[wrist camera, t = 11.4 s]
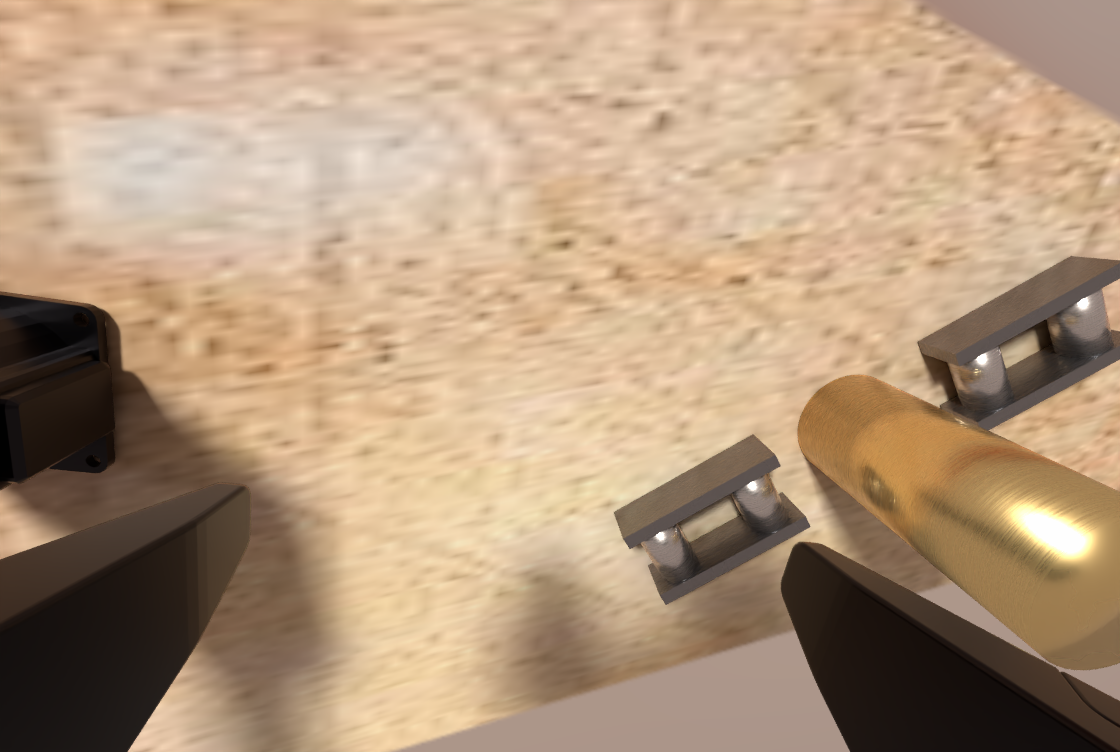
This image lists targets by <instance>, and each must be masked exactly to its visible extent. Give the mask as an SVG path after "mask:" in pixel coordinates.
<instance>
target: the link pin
mask: <svg viewBox="0 0 1120 752" xmlns="http://www.w3.org/2000/svg"><path fill="white" fill-rule="evenodd" d="M798 441H799V445H800V448H801V450H802V452H803V454H804V455H805V457H806V458H807V459H808V460H809V461H810V462H811V463H812V464H814V465H815V466H816V467H817V468H818V469H819V470H821V471H822V472H823V473H824V474H825V475H827V476H828V477H829V478H830V479H831V480H833V481H834V482H835V483H836V484H837V485H839V486H840V487H841V488H842V489H843V490H844V491H846V492H847V493H848V494H849V495H850V496H852V497H853V498H854V499H855V500H856V501H858V502H859V503H860V504H861V505H862V506H864V507H865V508H866V509H867V510H868V511H869V512H871V513H872V514H873V515H874V516H875V517H877V518H878V519H879V520H880V521H881V522H883V523H884V524H885V525H886V526H887V527H889V528H890V529H891V530H892V531H893V532H894V533H896V534H897V535H898V536H899V537H900V538H902V539H903V540H904V541H905V542H906V543H908V544H909V545H910V546H911V547H912V548H914V549H915V550H916V551H917V552H918V553H919V554H921V555H922V556H923V557H924V558H925V559H927V560H928V561H929V562H930V563H931V564H933V565H934V566H935V567H936V568H937V569H939V570H940V571H941V572H942V573H943V574H944V575H946V576H947V577H948V578H949V579H950V580H952V581H953V582H954V583H955V584H956V585H958V586H959V587H960V588H961V589H962V590H964V591H965V592H966V593H967V594H968V595H970V596H971V597H972V598H973V599H974V600H975V601H977V602H978V603H979V604H980V605H981V606H983V607H984V608H985V609H986V610H988V611H989V612H990V613H991V614H992V615H993V616H994V617H996V618H997V619H998V620H999V621H1000V622H1002V623H1003V624H1004V625H1005V626H1006V627H1008V628H1009V629H1010V630H1011V631H1012V632H1014V633H1015V634H1016V635H1017V636H1018V637H1020V638H1021V639H1022V640H1023V641H1024V642H1025V643H1027V644H1028V645H1029V646H1030V647H1031V648H1033V649H1034V650H1035V651H1036V652H1037V653H1039V654H1040V655H1041V656H1042V657H1043V658H1045V659H1046V660H1047V661H1049V662H1050V663H1052V664H1055V665H1056V666H1059V667H1062V668H1066V669H1072V670H1092V669H1099V668H1104V667H1108V666H1112V665H1115V664H1118V663H1120V492H1119V491H1117V490H1115V489H1113V488H1110V487H1108V486H1106V485H1104V484H1102V483H1100V482H1097V481H1095V480H1093V479H1091V478H1089V477H1087V476H1085V475H1082V474H1080V473H1078V472H1076V471H1074V470H1072V469H1070V468H1067V467H1065V466H1063V465H1061V464H1059V463H1057V462H1055V461H1052V460H1050V459H1048V458H1046V457H1044V456H1042V455H1039V454H1037V453H1035V452H1033V451H1031V450H1029V449H1027V448H1024V447H1022V446H1020V445H1018V444H1016V443H1014V442H1012V441H1009V440H1007V439H1005V438H1003V437H1001V436H999V435H996V434H994V433H992V432H990V431H988V430H986V429H984V428H981V427H979V426H977V425H975V424H973V423H971V422H969V421H966V420H964V419H962V418H960V417H958V416H956V415H954V414H951V413H949V412H947V411H945V410H943V409H941V408H938V407H936V406H934V405H932V404H930V403H928V402H926V401H923V400H921V399H919V398H917V397H915V396H913V395H911V394H908V393H906V392H904V391H902V390H900V389H898V388H896V387H893V386H891V385H889V384H887V383H885V382H883V381H880V380H878V379H876V378H874V377H871V376H866V375H850V376H845V377H841V378H838V379H836V380H834V381H832V382H830V383H828V384H827V385H825V386H824V387H822V388H821V389H820V390H819V391H818V392H816V393H815V394H814V396H813V397H812V398H811V399H810V400H809V402H808V403H807V405H806V406H805V408H804V410H803V412H802V414H801V417H800V421H799V425H798Z"/></svg>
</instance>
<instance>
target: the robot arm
mask: <svg viewBox="0 0 1120 752" xmlns="http://www.w3.org/2000/svg"><path fill="white" fill-rule="evenodd" d="M82 313H83V314H85V315H86V316H87V317H88V319H89V324H87V323H85V322H84V321H83V319H82ZM114 428H115V422H114V408H113V393H112V379H111V369H110V367H109V365H108V354H107V340H106V326H105V318H104V314H103V313H102V312H101V310H100V309H99V308H97V307H96V306H94V305H91V304H86V303H79V302H72V301H65V300H57V299H50V298H43V297H36V296H29V295H22V294H14V293H7V292H0V490H2V489H3V488H5V487H7V486H9V485H11V484H12V483H18V484H20V483H23V482H25V481H27V480H29V479H30V478H32V477H34V476H36V475H37V474H39V473H41V472H43V471H44V470H46V469H58V470H68V471H79V472H89V473H100V472H102V471H104V470H106V469H107V468H109V467H110V466H112V464H113V463H114V460H115V452H114V438H113V430H114ZM93 455H94V456H97V457H98V458H99V459H100V462H98V461H96V460H95V459H94V456H93ZM250 531H251V493H250V490H249V488H248V487H247V486H246V485H241V484H231V483H216V484H213V485H210V486H207V487H205V488H202V489H199V490H196V491H193V492H190V493H188V494H185V495H182V496H179V497H176V498H173V499H171V500H168V501H165V502H162V503H159V504H156V505H154V506H151V507H148V508H145V509H142V510H139V511H137V512H134V513H131V514H128V515H125V516H122V517H120V518H117V519H114V520H111V521H108V522H105V523H103V524H100V525H97V526H94V527H91V528H88V529H85V530H83V531H80V532H77V533H74V534H71V535H68V536H66V537H63V538H60V539H57V540H54V541H51V542H49V543H46V544H43V545H40V546H37V547H34V548H32V549H29V550H26V551H23V552H20V553H17V554H15V555H12V556H9V557H6V558H3V559H0V752H128V750H129V749H130V747H131V745H132V744H133V742H134V741H135V739H136V738H137V736H138V735H139V733H140V732H141V730H142V729H143V727H144V726H145V724H146V722H147V721H148V719H149V718H150V716H151V715H152V713H153V712H154V710H155V709H156V707H157V706H158V704H159V703H160V701H161V699H162V698H163V696H164V695H165V693H166V692H167V690H168V689H169V687H170V686H171V684H172V683H173V681H174V679H175V678H176V676H177V675H178V673H179V672H180V670H181V669H182V667H183V666H184V664H185V663H186V661H187V660H188V658H189V656H190V655H191V653H192V652H193V650H194V648H195V647H196V645H197V643H198V642H199V640H200V638H201V637H202V635H203V633H204V631H205V629H206V627H207V625H208V624H209V622H210V620H211V618H212V616H213V614H214V612H215V610H216V608H217V606H218V604H219V602H220V600H221V598H222V596H223V594H224V592H225V590H226V588H227V586H228V584H229V582H230V580H231V578H232V576H233V574H234V572H235V570H236V568H237V566H238V564H239V562H240V561H241V559H242V557H243V555H244V553H245V551H246V548H247V546H248V543H249V539H250ZM781 593H782V597H783V600H784V602H785V605H786V607H787V610H788V613H789V615H790V618H791V620H792V623H793V625H794V628H795V631H796V633H797V636H798V638H799V641H800V644H801V646H802V649H803V651H804V654H805V656H806V659H807V662H808V664H809V667H810V669H811V671H812V674H813V676H814V679H815V681H816V683H817V685H818V687H819V689H820V692H821V694H822V696H823V698H824V700H825V702H826V704H827V706H828V708H829V710H830V712H831V714H832V716H833V718H834V720H835V722H836V724H837V726H838V728H839V730H840V732H841V734H842V736H843V738H844V740H845V742H846V744H847V746H848V748H849V750H850V752H1120V701H1119V700H1117V699H1114V698H1113V697H1111V696H1109V695H1107V694H1105V693H1103V692H1101V691H1099V690H1097V689H1095V688H1094V687H1092V686H1090V685H1088V684H1086V683H1084V682H1082V681H1080V680H1078V679H1077V678H1074V677H1073V676H1071V675H1069V674H1067V673H1065V672H1059V670H1058V669H1057V668H1056V667H1053V666H1052V665H1050V664H1048V663H1046V662H1044V661H1042V660H1040V659H1039V658H1037V657H1035V656H1033V655H1031V654H1029V653H1027V652H1025V651H1023V650H1022V649H1020V648H1018V647H1016V646H1014V645H1012V644H1010V643H1008V642H1006V641H1004V640H1003V639H1001V638H999V637H997V636H995V635H993V634H991V633H989V632H987V631H986V630H984V629H982V628H980V627H978V626H976V625H974V624H972V623H970V622H969V621H967V620H965V619H963V618H961V617H959V616H957V615H955V614H953V613H951V612H950V611H948V610H946V609H944V608H942V607H940V606H938V605H936V604H934V603H933V602H931V601H929V600H927V599H925V598H923V597H921V596H919V595H917V594H915V593H914V592H912V591H910V590H908V589H906V588H904V587H902V586H900V585H898V584H897V583H895V582H893V581H891V580H889V579H887V578H885V577H883V576H881V575H879V574H878V573H876V572H874V571H872V570H870V569H868V568H866V567H864V566H862V565H861V564H859V563H857V562H855V561H853V560H851V559H849V558H847V557H845V556H843V555H842V554H840V553H838V552H836V551H834V550H832V549H830V548H828V547H826V546H824V545H822V544H819V543H811V542H798V543H796V544H795V545H794V547H793V548H792V551H791V554H790V557H789V560H788V562H787V565H786V568H785V571H784V574H783V577H782V580H781Z"/></svg>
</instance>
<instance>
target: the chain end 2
mask: <svg viewBox="0 0 1120 752" xmlns="http://www.w3.org/2000/svg"><path fill="white" fill-rule="evenodd" d="M1119 278H1120V261H1119V260H1108V259H1097V258H1085V257H1074V256H1071V257H1069V258H1067V259H1065V260H1063V261H1062V262H1060V263H1058V264H1056V265H1054V266H1053V267H1051V268H1049V269H1047V270H1045V271H1044V272H1042V273H1040V274H1038V275H1037V276H1035V277H1033V278H1031V279H1029V280H1028V281H1026V282H1024V283H1022V284H1020V285H1019V286H1017V287H1015V288H1013V289H1011V290H1010V291H1008V292H1006V293H1004V294H1003V295H1001V296H999V297H997V298H995V299H994V300H992V301H990V302H988V303H986V304H985V305H983V306H981V307H979V308H977V309H976V310H974V311H972V312H970V313H969V314H967V315H965V316H963V317H961V318H960V319H958V320H956V321H954V322H952V323H951V324H949V325H947V326H945V327H943V328H942V329H940V330H938V331H936V332H935V333H933V334H931V335H929V336H927V337H926V338H924V339H922V340H920V341H918V344H919V346H920V349H921V352H922V354H925V355H928V356H931V357H933V358H936V359H939V360H942V361H945V362H947V364H948V367H949V370H950V373H951V376H952V379H953V382H954V384H955V387H956V390H957V393H958V396H956V397H954V398H953V399H951V400H949V401H947V402H945V403H943V404H942V405H940V406H941V409H943V410H945V411H947V412H949V413H951V414H954V415H956V416H958V417H960V418H962V419H964V420H966V421H969V422H971V423H973V424H975V425H977V426H979V427H981V428H984V429H986V430H990V429H992V428H994V427H995V426H997V425H999V424H1001V423H1003V422H1005V421H1006V420H1008V419H1010V418H1012V417H1014V416H1016V415H1018V414H1019V413H1021V412H1023V411H1025V410H1027V409H1029V408H1031V407H1032V406H1034V405H1036V404H1038V403H1040V402H1042V401H1044V400H1045V399H1047V398H1049V397H1051V396H1053V395H1055V394H1056V393H1058V392H1060V391H1062V390H1064V389H1066V388H1068V387H1069V386H1071V385H1073V384H1075V383H1077V382H1079V381H1081V380H1082V379H1084V378H1086V377H1088V376H1090V375H1092V374H1094V373H1095V372H1097V371H1099V370H1101V369H1103V368H1105V367H1107V366H1108V365H1110V364H1112V363H1114V362H1116V361H1118V360H1119V359H1120V331H1115V330H1111V329H1110V324H1109V320H1108V315H1107V310H1106V306H1105V301H1104V297H1103V292H1102V288H1103V287H1105V286H1107V285H1109V284H1110V283H1112V282H1114V281H1116V280H1118V279H1119ZM1045 319H1046V321H1047V325H1048V329H1049V333H1050V337H1051V341H1052V344H1051V345H1049V346H1048V347H1046V348H1044V349H1042V350H1040V351H1038V352H1037V353H1035V354H1033V355H1031V356H1029V357H1027V358H1026V359H1024V360H1022V361H1020V362H1018V363H1017V364H1015V365H1013V366H1011V367H1009V368H1007V369H1006V368H1005V364H1004V361H1003V358H1002V354H1001V351H1000V347H999V345H1000V344H1002V343H1003V342H1005V341H1007V340H1009V339H1011V338H1012V337H1014V336H1016V335H1018V334H1020V333H1022V332H1023V331H1025V330H1027V329H1029V328H1031V327H1032V326H1034V325H1036V324H1038V323H1040V322H1041V321H1043V320H1045Z"/></svg>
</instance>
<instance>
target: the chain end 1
mask: <svg viewBox="0 0 1120 752" xmlns="http://www.w3.org/2000/svg"><path fill="white" fill-rule="evenodd" d="M778 467H780V464H779V462H778V459H777V457H776V455H775V454H774V453H773V452H772V451H771V450H770V449H768V448H767V447H766V446H765V445H764V444H763V443H762V442H761V441H760V440H759V439H758V438H757V437H755V436H754V435H751V436H750V437H748V438H746V439H744V440H742V441H741V442H739V443H737V444H735V445H733V446H732V447H730V448H728V449H726V450H724V451H723V452H721V453H719V454H717V455H715V456H714V457H712V458H710V459H708V460H707V461H705V462H703V463H701V464H699V465H698V466H696V467H694V468H692V469H690V470H689V471H687V472H685V473H683V474H681V475H680V476H678V477H676V478H674V479H673V480H671V481H669V482H667V483H665V484H664V485H662V486H660V487H658V488H656V489H655V490H653V491H651V492H649V493H647V494H646V495H644V496H642V497H640V498H639V499H637V500H635V501H633V502H631V503H630V504H628V505H626V506H624V507H622V508H621V509H619V510H617V511H615V512H614V514H615V517H616V520H617V523H618V526H619V528H620V531H621V534H622V537H623V539H624V541H625V542H626V544H627V545H628V547H629V549H631V548H633V547H635V546H637V545H638V544H640V543H641V544H642V546H643V548H644V549H645V551H646V552H647V554H648V555H649V557H650V559H651V560H652V562H653V563H652V564H650V565H649V566H648V567H649V569H650V572H651V574H652V577H653V579H654V582H655V584H656V587H657V590H658V592H659V595H660V596H661V598H662V600H663V601H664V603H665V604H666V605H667V604H669V603H670V602H672V601H674V600H676V599H678V598H680V597H682V596H683V595H685V594H687V593H689V592H691V591H693V590H695V589H696V588H698V587H700V586H702V585H704V584H706V583H708V582H709V581H711V580H713V579H715V578H717V577H719V576H720V575H722V574H724V573H726V572H728V571H730V570H732V569H733V568H735V567H737V566H739V565H741V564H743V563H745V562H746V561H748V560H750V559H752V558H754V557H756V556H758V555H759V554H761V553H763V552H765V551H767V550H769V549H770V548H772V547H774V546H776V545H778V544H780V543H782V542H783V541H785V540H787V539H789V538H791V537H793V536H795V535H796V534H798V533H800V532H802V531H804V530H806V529H808V528H809V527H810V525H809V523H808V521H807V518H806V516H805V515H804V514H803V513H802V512H801V511H800V510H799V509H798V508H797V507H796V506H795V505H794V504H793V503H792V502H791V501H790V500H789V499H788V498H787V497H786V496H785V495H784V494H783V493H780V494H778V492H777V490H776V488H775V486H774V484H773V482H772V480H771V478H770V476H769V474H768V473H769V472H771V471H773V470H774V469H776V468H778ZM729 494H730V495H731V496H732V498H733V500H734V502H735V504H736V506H737V507H738V509H739V511H740V513H741V515H740V516H738V517H736V518H734V519H733V520H731V521H729V522H727V523H725V524H723V525H722V526H720V527H718V528H716V529H714V530H712V531H711V532H709V533H707V534H705V535H703V536H702V537H700V538H698V539H696V540H694V541H692V542H691V543H689V542H688V541H687V539H686V537H685V536H684V534H683V532H682V530H681V529H680V527H679V525H678V524H677V523H678V522H680V521H682V520H684V519H686V518H687V517H689V516H691V515H693V514H695V513H696V512H698V511H700V510H702V509H704V508H705V507H707V506H709V505H711V504H713V503H715V502H716V501H718V500H720V499H722V498H724V497H725V496H727V495H729Z"/></svg>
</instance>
